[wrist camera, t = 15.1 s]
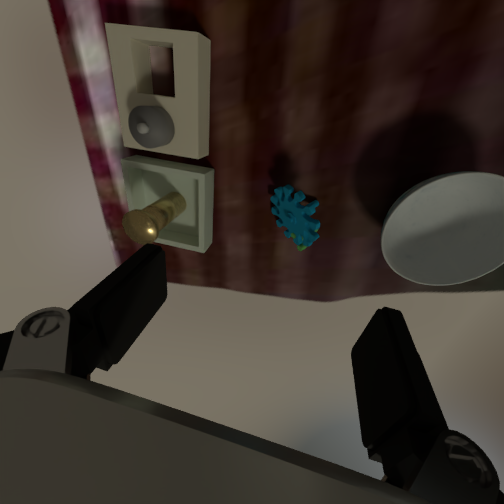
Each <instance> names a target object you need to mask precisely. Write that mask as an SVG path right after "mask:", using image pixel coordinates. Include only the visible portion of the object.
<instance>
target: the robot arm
mask: <svg viewBox="0 0 504 504" xmlns="http://www.w3.org/2000/svg"><path fill="white" fill-rule="evenodd" d="M166 298H167V279H166V262H165V252H164V251H163V250H162V248H161V247H160V246H158V245H154V244H150V243H147V244H145V245H144V246H143V247H142V248H140V249H139V250H138V251H137V252H136V253H134V254H133V255H132V256H131V257H130V258H129V259H127V260H126V261H125V262H124V263H123V264H121V265H120V266H119V267H118V268H117V269H115V271H113V272H112V273H111V274H110V275H108V276H107V277H106V278H105V279H104V280H102V281H101V282H100V283H99V284H98V285H97V286H95V287H94V288H93V289H92V290H90V291H89V292H88V293H87V294H86V295H85V296H83V297H82V298H81V299H80V300H79V301H77V302H76V303H75V304H74V305H73V306H72V307H71V308H70V309H69V310H65V309H63V308H59V307H50V308H45V309H41V310H38V311H35V312H33V313H31V314H29V315H28V316H26V317H25V318H23V319H22V320H21V321H20V322H19V323H18V325H17V326H16V328H15V330H13V331H10V332H6V333H2V334H0V504H504V493H503V492H501V490H500V489H499V488H500V481H499V478H498V475H497V471H496V470H495V468H494V466H493V464H492V462H491V461H490V459H489V458H488V457H487V455H486V454H485V453H484V451H483V450H482V449H481V448H480V447H479V446H478V445H477V444H476V443H475V442H474V441H472V440H471V439H470V438H468V437H467V436H465V435H464V434H462V433H459V432H458V431H454V430H449V429H448V426H447V424H446V421H445V418H444V416H443V414H442V411H441V409H440V406H439V403H438V401H437V398H436V396H435V393H434V391H433V388H432V386H431V383H430V381H429V378H428V376H427V373H426V371H425V368H424V366H423V363H422V360H421V358H420V355H419V354H418V352H417V350H416V348H415V345H414V343H413V340H412V337H411V335H410V332H409V330H408V327H407V325H406V322H405V320H404V317H403V315H402V313H401V311H399V310H395V309H392V308H388V307H383V308H382V309H378V310H377V311H376V312H375V314H374V316H373V317H372V318H371V320H370V322H369V323H368V325H367V326H366V328H365V329H364V331H363V333H362V334H361V336H360V337H359V339H358V340H357V342H356V343H355V345H354V346H353V348H352V352H351V359H352V366H353V374H354V382H355V389H356V397H357V405H358V412H359V420H360V428H361V436H362V442H363V445H364V447H366V448H367V450H368V457H369V459H371V460H374V461H377V462H380V463H382V464H383V470H384V474H385V475H384V477H383V478H382V480H378V479H375V478H372V477H370V476H367V475H364V474H362V473H359V472H356V471H354V470H351V469H348V468H345V467H343V466H340V465H337V464H334V463H332V462H329V461H326V460H323V459H320V458H317V457H314V456H311V455H309V454H305V453H303V452H300V451H297V450H294V449H291V448H288V447H286V446H283V445H280V444H277V443H274V442H271V441H268V440H265V439H262V438H260V437H257V436H254V435H251V434H248V433H245V432H242V431H239V430H236V429H233V428H230V427H227V426H224V425H222V424H218V423H216V422H213V421H210V420H207V419H204V418H201V417H198V416H195V415H192V414H189V413H186V412H184V411H181V410H178V409H175V408H172V407H169V406H166V405H162V404H160V403H157V402H154V401H151V400H148V399H145V398H142V397H139V396H136V395H133V394H130V393H127V392H124V391H121V390H118V389H115V388H112V387H109V386H105V385H102V384H99V383H96V382H93V381H90V374H91V373H92V372H93V370H94V369H95V368H100V369H102V370H105V371H108V370H109V369H110V367H111V366H112V365H113V364H117V363H118V362H119V361H120V360H121V358H122V357H123V356H124V354H125V353H126V352H127V351H128V349H129V348H130V347H131V345H132V344H133V343H134V341H135V340H136V338H137V337H138V336H139V335H140V333H141V332H142V331H143V329H144V328H145V327H146V325H147V324H148V323H149V322H150V320H151V319H152V318H153V316H154V315H155V313H156V312H157V311H158V310H159V308H160V307H161V306H162V304H163V303H164V302H165V300H166Z"/></svg>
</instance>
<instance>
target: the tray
mask: <svg viewBox="0 0 504 504" xmlns="http://www.w3.org/2000/svg"><path fill="white" fill-rule="evenodd" d="M121 165H122V171H123V177H124V183H125V189H126V195H127V201H128V207H129V211H131V210H134V209H140V210H142V209H143V208H145V207H147V206H148V205H150V204H152V203H153V202H155V201H157V200H158V199H160V198H162V197H163V196H165V195H167V194H168V193H170V192H177V193H180V194H181V195H182V196H183V197H184V198H185V200H186V204H187V206H186V209H185V211H184V212H183V213H181V214H180V215H179V216H178V217H176V218H175V219H174V220H173V221H171V222H170V223H169V224H168V225H167V226H165V227H164V228H163V229H162V230H160V231H159V236H158V238H157V239H156V240H155V241H154V242H157V243H162V244H166V245H171V246H175V247H180V248H184V249H189V250H193V251H197V252H202V253H204V252H205V251H206V250H207V249H208V247H209V246H210V245H211V243H212V227H213V193H214V169H213V168H207V167H202V166H196V165H190V164H185V163H179V162H173V161H168V160H162V159H156V158H151V157H145V156H139V155H134V156H131V157H127V158H123V159H121Z"/></svg>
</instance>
